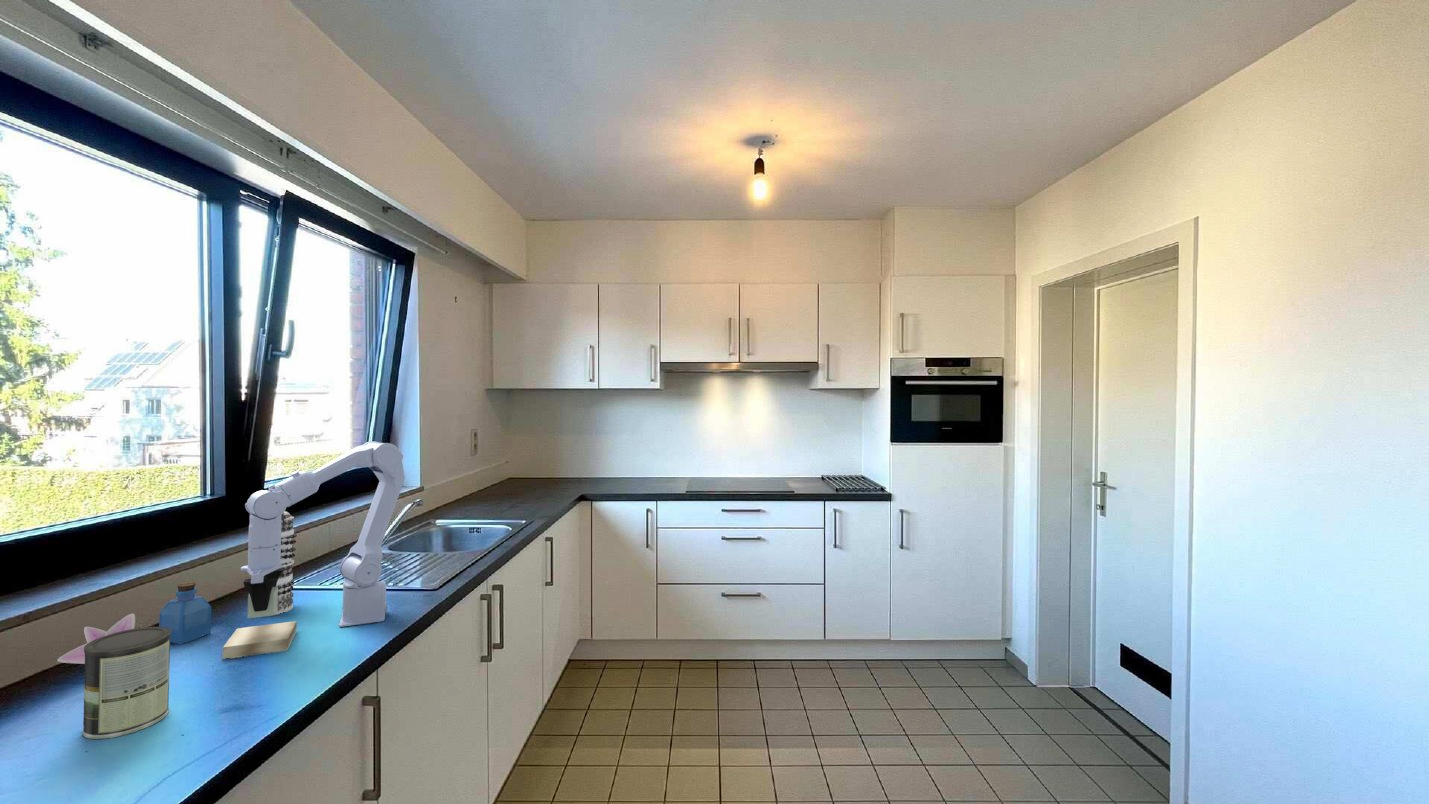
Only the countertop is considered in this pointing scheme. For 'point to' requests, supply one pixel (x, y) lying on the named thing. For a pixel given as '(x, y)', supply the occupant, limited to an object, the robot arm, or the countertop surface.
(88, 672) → the coffee can
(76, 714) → the countertop surface
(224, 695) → the countertop surface
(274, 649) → the birch slab
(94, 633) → the lily
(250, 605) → the sage block
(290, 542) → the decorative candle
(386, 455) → the robot arm
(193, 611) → the perfume bottle
